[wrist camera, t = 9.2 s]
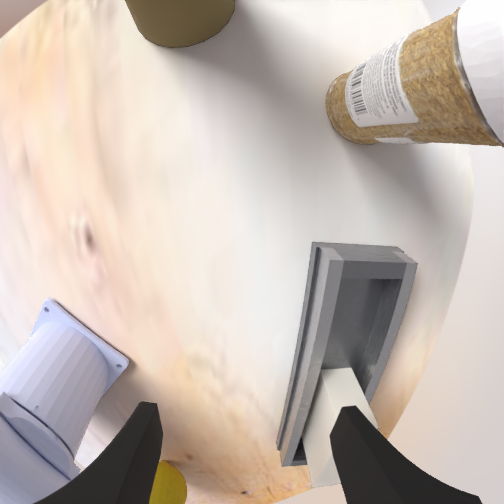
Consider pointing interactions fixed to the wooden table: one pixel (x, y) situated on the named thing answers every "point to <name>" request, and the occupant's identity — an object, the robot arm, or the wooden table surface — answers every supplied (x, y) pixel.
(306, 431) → the door panel
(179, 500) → the lemon
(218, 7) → the cork
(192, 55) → the wooden table surface
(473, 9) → the sprinkles bottle
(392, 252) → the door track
